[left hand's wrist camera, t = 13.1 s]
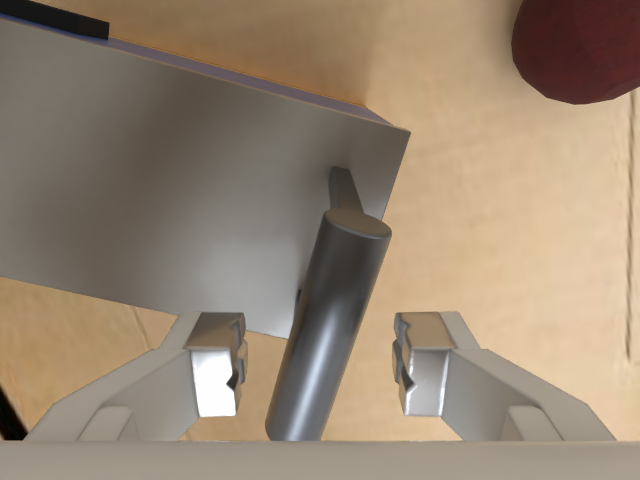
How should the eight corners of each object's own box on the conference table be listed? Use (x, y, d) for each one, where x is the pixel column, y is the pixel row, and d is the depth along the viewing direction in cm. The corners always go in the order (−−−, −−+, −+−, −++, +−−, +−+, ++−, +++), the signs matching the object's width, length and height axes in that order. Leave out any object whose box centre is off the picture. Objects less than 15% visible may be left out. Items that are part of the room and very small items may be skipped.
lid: (407, 129, 16) (489, 178, 8) (337, 339, 19) (349, 512, 12) (-86, -7, 14) (-566, -107, 6) (-66, 250, 17) (-363, 384, 10)
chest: (366, 107, 26) (395, 126, 16) (325, 247, 29) (328, 337, 19) (83, 28, 24) (-85, -8, 14) (75, 186, 28) (-65, 249, 18)
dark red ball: (583, -76, 22) (693, -141, 16) (646, 45, 24) (767, 33, 18) (467, 25, 24) (522, 5, 17) (535, 129, 26) (608, 147, 20)
